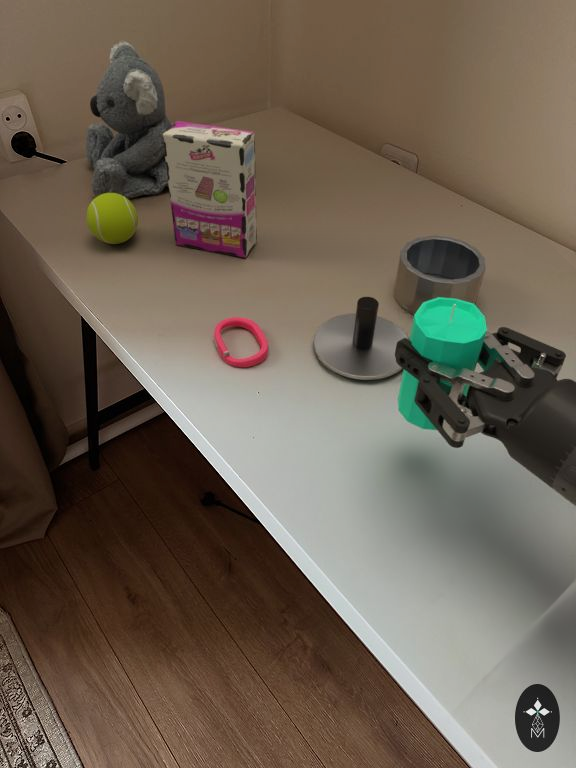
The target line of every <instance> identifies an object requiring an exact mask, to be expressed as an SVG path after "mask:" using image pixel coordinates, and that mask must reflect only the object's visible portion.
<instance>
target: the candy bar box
mask: <svg viewBox="0 0 576 768" xmlns="http://www.w3.org/2000/svg"><path fill="white" fill-rule="evenodd" d="M255 134H256V133H255V131H250V130H244V129H236V128H232V127H231V128H230V127H224V126H223V127H222V126H216V125H210V124H203V123H202V124H201V123H195V122H187V121H181V120H177V121H176V122H175V123H173V125H172V126H171V127H170V128H169V129H168V130H167V131H166V132H165V133H163V143H164V151H165V159H166V167H167V176H168V184H169V186H168V191H169V199H170V208H171V209H170V210H171V217H172V218H171V219H172V225H173V226H172V227H173V235H174V242H175V245H177V246H180V247H186V248H190V249H196V250H201V251H205V252H212V253H216V254H217V253H218V254H222V255H229V256H234V257H238V258H247V257H248V256H249V254H250V253H251V251H252V249H253V248H254V247H255V246H256V244H257V242H258V227H257V186H256V185H257V184H256V183H257V182H256V181H257V180H256V177H257V176H256V137H255V136H256V135H255Z"/></svg>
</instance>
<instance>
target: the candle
mask: <svg viewBox="0 0 576 768" xmlns="http://www.w3.org/2000/svg"><path fill="white" fill-rule="evenodd" d="M486 332H488V327H487V322H486V316H485V315H484V314H483V312H482V311H481V310H480V309H479V308H478V306H477V305H476V303H475V304H473V303H470V302H466V301H463V300H459V299H453V298H443V297H438V298H435V299H432V300H429V301H426V302H423V304H422V305H421V306H420V308H419V309H418V310H417V312H416V313H415V315H413V320H412V325H411V329H410V335H409V340H410V341H411V342H412V345H413V346H414V348H415V349H416V350H417V351H418V352H419V353H420V354H421V355H422V356H424V357H426V358H428V359H430V360H433V362H439V363H441V364H444V365H447V366H449V367H452V368H454V369H460V368H467V369H470V370H472V371H475V372H476V368H477V364H478V362H477V361H478V358H479V355H480V352H481V348H482V345H483V342H484V338H485V335H486ZM418 381H419V380H418V379H416V378H415V377H414V376H412V375H411V374H410V373H408V372H407V371H406V370H404V369H403V371H402V376H401V381H400V386H399V392H398V396H397V407H398V412H399V413H400V414H401V415H402V416H403V418H404V419H405V421H406V422H407V423H410V424H411V425H413V426H415V427H418V428H420V429H422V430H429V431H438V430H437V429H436V428H435V427H434V425H433V424H432V423H431V422H430V421H429V419H428V418H427V417H426V416H425V414H424V413H423V412H422V411H421V410H420V408H419V407H418V406H417V405H416V403H415V402H414V399H415V395H416V390H417V386H418ZM440 382H442V383H444V384H447V385H449V386H452V384H451V383H450V382H448V381H446V380H443V379H441V378H440ZM469 386H470V385H466V384H465V385H464V388H463V394H464V395H465V396H466V397H467V392H468V389H469Z"/></svg>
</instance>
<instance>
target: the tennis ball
mask: <svg viewBox="0 0 576 768" xmlns="http://www.w3.org/2000/svg"><path fill="white" fill-rule="evenodd" d="M138 218H139V217H138V213H137V210H136V207H135V205H134V204H133V203H132V201H130V199H127V198H126V197H124V196H122V195H120V194H117V193H104V194H101V195H99V196H97V197H96V198H95V197H94V198H93V199H92V200H91V202H89V205H88V207H87V209H86V224H87V226H88V229H89V230H90V232H91V233H92V235H93V236H94V237H95V238H96V239H97V240H99V241H100V242H102V243H106V244H110V245H117V244H122V243H125V242H126V241H128V240H130V239H131V237H132V236H133V235H134V234H135V233H136V231H137V227H138V223H139V222H138V221H139V219H138Z"/></svg>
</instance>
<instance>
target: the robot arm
mask: <svg viewBox="0 0 576 768" xmlns="http://www.w3.org/2000/svg"><path fill="white" fill-rule="evenodd" d="M509 344H511V345H514V346H516V347H518V348H519V349H520V351H517V350H515V349H513V348H510V347H509ZM566 357H567V355H566V353H565V352H564V351H563V350H561V349H560V348H559V349H558V348H556V347H553V346H551V345H549V344H547V343H544V342H542V341H541V340H537V339H535V338H533V337H530V336H528V335H525V334H523V333H521V332H518V331H516V330H514V329H511V328H509V327H507V326H501V327H499V328H498V329H497V332H493V333H491V332H489V331H487V332H486V335H485V338H484V342H483V345H482V348H481V352H480V355H479V358H478V361H477V364H478V365H479V366H480V368H481V369H482V370H483V371H479V372H477V371H476V370H475V371H472V370H470V369H467V368H460V369H454V368H452V367H449V366H447V365H444V364H441V363H439V362H433V360H430V359H428V358H426V357H424V356H422V355H421V354H420V353H419V352H418V351H417V350H416V349H415V348H414V346H413V345H412V342H411V341H410V339H409V340H408V339H407V338H403V339H401V340H400V341H398V342H397V345H396V350H395V358H396V362H397V364H398V365H399V366H400V367H402V369H403V370H406V371H407V372H408V373H410V374H411V375H412V376H414V377H415V378H416V379H418V380H419V381H418V386H417V390H416V395H415V399H414V402H415V403H416V405H417V406H418V407H419V408H420V410H421V411H422V412H423V413H424V414H425V416H426V417H427V418H428V419H429V421H430V422H431V423H432V424H433V425H434V427H435V428H436V429H437V430H436V431H438V432H437V433H439V434H440V435H441V437H442V438H443V439H444V440H445V442H446V443H447V444H448V445H449V446H450V447H452V448H454V449H458V448H461V447H463V446H464V443H465V439H466V438H469V437H472V436H474V435H477V434H482V435H484V436H487V437H490V438H492V439H495V440H497V441H499V442H501V444H503V446H504V448H505V449H506V451H507V452H508V455H509V456H510V457H511V458H512V459H513V460H514V461H516V462H517V463H518V464H519V465H520V466H522V467H523V468H525V469H526V470H527V471H528V472H530V473H531V474H533V475H534V476H535V477H537V478H538V479H539V480H540V481H542V482H543V483H545V484H546V485H547V486H548V487H550V488H551V489H552V490H554V491H555V492H556V493H558V494H559V495H560V496H562V497H563V498H564V499H565V500H567V501H568V502H569V503H571V504H572V505H573V506H575V507H576V381H575V380H573V379H571V378H561V379H559V380H558V379H557V378H558V376H559V373H560V372H561V370H562V367H563V365H564V362H565V359H566ZM440 378H441V379H443V380H446V381H448V382H450V383H451V384H452V386H449V385H447V384H444V383H442V382H440ZM465 384H466V385H470V386H469V389H468V392H467V397H466V396H465V395H464V394H463V388H464V385H465Z"/></svg>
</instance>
